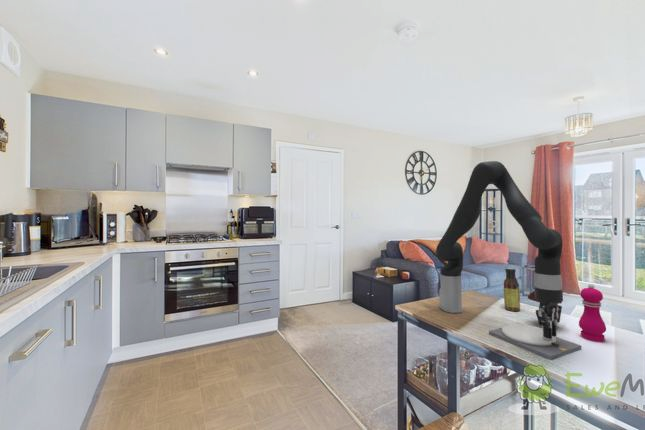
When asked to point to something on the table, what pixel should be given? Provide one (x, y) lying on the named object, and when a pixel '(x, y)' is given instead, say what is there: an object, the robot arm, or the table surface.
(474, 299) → the table surface
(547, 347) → the dial base
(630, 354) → the table surface
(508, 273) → the sauce bottle
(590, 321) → the pepper mill
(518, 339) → the cam dial
